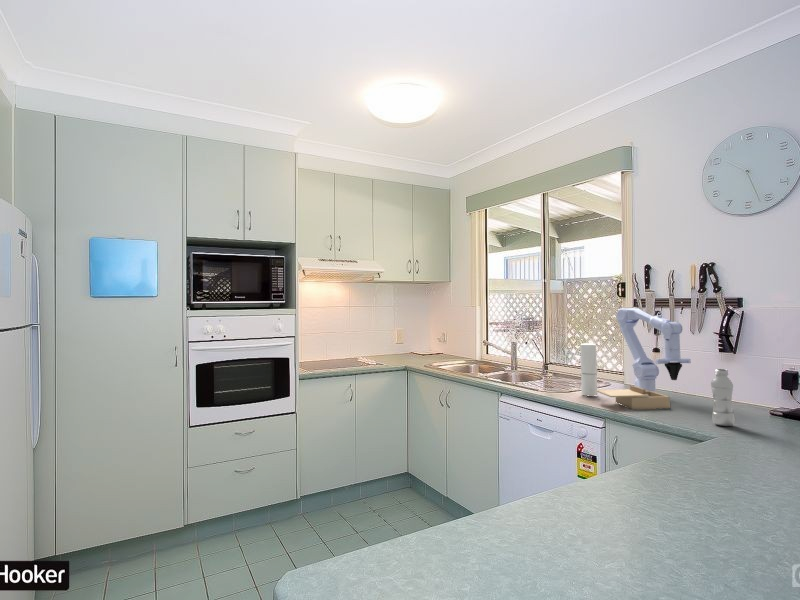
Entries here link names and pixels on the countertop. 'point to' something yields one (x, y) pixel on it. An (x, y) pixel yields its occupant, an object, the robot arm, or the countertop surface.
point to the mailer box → (645, 401)
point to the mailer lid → (625, 392)
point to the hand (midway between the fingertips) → (673, 379)
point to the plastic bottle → (722, 399)
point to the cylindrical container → (588, 369)
